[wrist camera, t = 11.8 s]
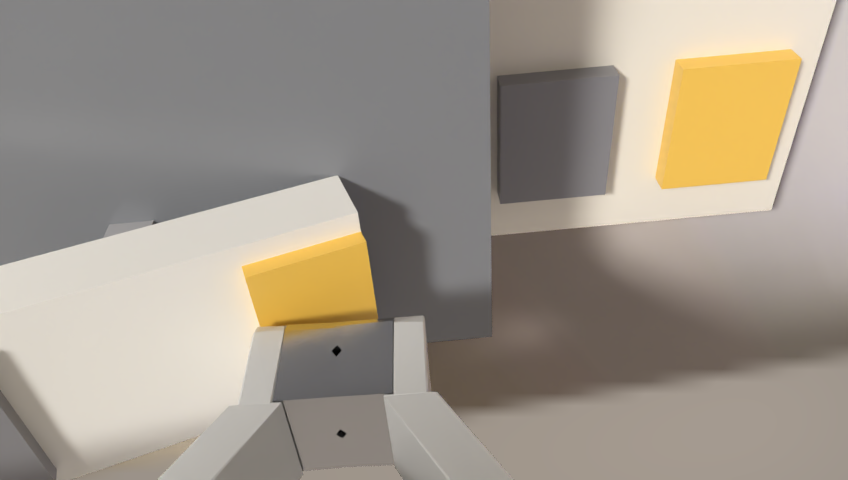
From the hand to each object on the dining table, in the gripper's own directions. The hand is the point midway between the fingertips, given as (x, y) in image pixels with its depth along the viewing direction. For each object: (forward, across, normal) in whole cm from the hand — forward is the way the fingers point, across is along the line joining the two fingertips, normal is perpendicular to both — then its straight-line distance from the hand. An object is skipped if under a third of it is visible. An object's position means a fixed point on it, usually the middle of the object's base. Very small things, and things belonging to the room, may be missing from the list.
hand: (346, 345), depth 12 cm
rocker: (+1, +4, 0) cm, 4 cm away
